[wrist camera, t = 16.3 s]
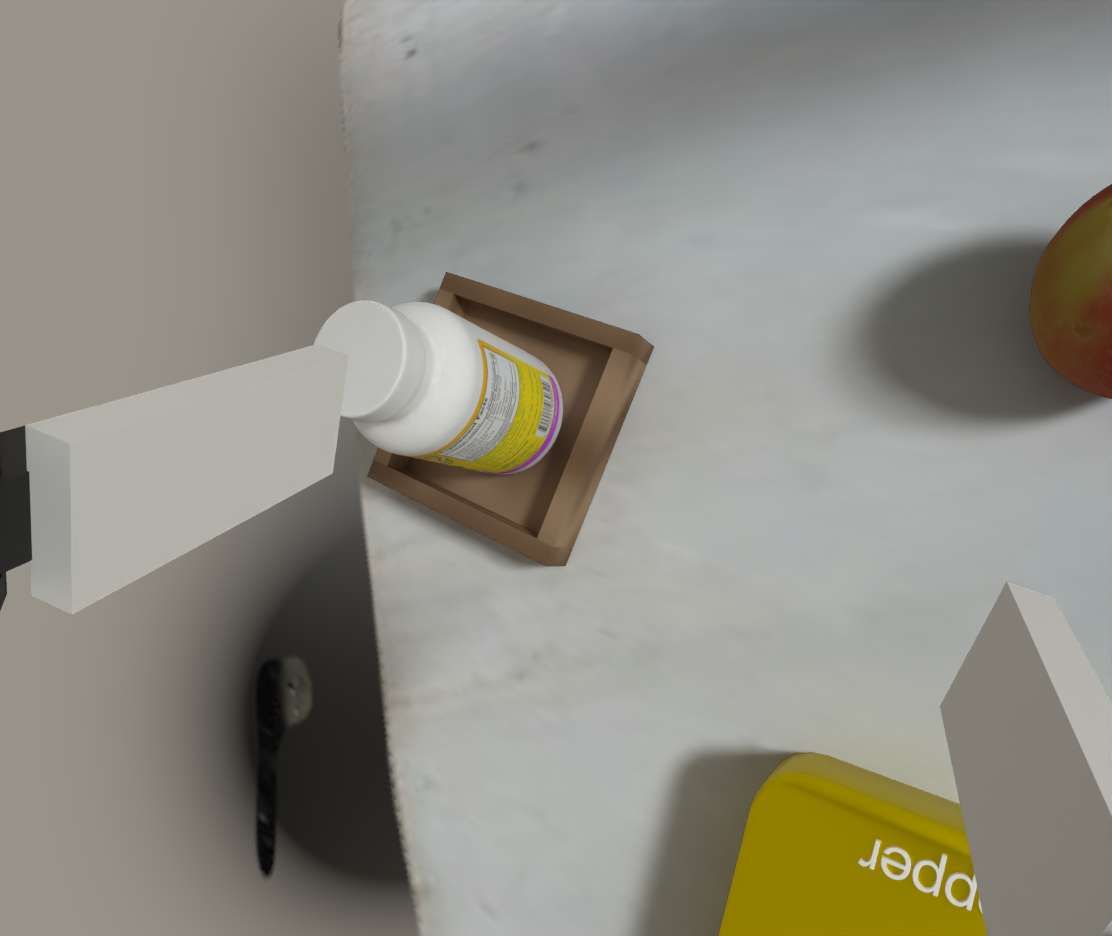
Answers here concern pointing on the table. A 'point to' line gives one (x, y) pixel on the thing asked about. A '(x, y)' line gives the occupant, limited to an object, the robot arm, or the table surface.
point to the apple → (1078, 298)
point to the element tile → (851, 858)
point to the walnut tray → (581, 445)
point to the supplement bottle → (443, 387)
